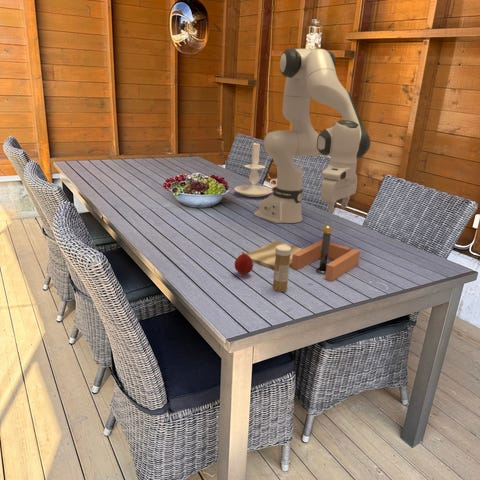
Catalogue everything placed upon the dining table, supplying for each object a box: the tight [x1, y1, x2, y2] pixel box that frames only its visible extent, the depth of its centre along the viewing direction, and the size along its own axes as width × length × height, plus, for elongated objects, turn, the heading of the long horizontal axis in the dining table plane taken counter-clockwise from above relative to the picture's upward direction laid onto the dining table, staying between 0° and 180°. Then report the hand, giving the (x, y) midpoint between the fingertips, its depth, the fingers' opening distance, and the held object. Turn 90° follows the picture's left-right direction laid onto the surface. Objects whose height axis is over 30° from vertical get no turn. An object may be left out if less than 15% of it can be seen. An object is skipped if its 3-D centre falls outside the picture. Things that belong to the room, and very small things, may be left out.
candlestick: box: [234, 142, 277, 198], centre depth 240 cm, size 21×25×28 cm
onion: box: [234, 251, 254, 277], centre depth 144 cm, size 6×6×8 cm
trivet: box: [246, 240, 303, 270], centre depth 162 cm, size 16×21×1 cm
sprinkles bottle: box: [272, 245, 291, 292], centre depth 135 cm, size 5×5×13 cm
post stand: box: [315, 225, 333, 275], centre depth 149 cm, size 4×4×16 cm
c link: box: [290, 239, 361, 282], centre depth 155 cm, size 20×15×5 cm
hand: (337, 210), depth 158 cm, fingers open, 8 cm apart
